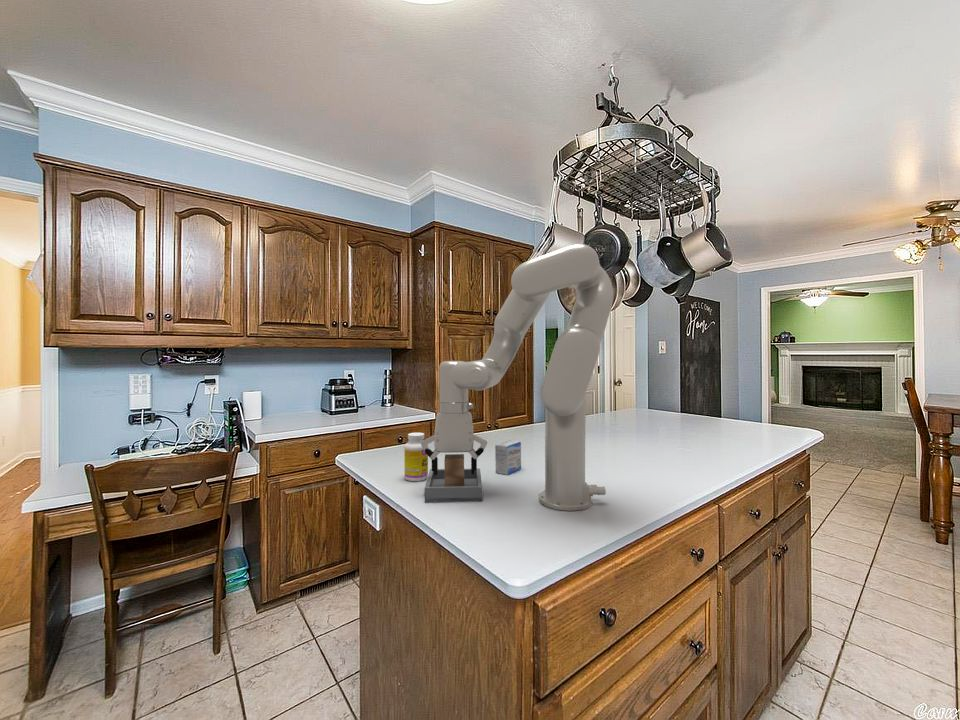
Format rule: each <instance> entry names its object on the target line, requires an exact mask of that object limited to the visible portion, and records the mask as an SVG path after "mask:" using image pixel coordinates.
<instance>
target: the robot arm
mask: <svg viewBox="0 0 960 720" xmlns="http://www.w3.org/2000/svg"><path fill="white" fill-rule="evenodd" d="M599 257H600V256H599V254H598V253H597V251H596V250H595V249H594V248H593V247H591V246H590V245H588V244H584V243H575V244H571V245H568V246H564V247H561V248H558V249H556V250H554V251H550V252H548V253H546V254H543V255H539V256H538V257H534V258H532V259H529V260H527V261H525V262H523V263H520V264H519V265H518V266H517V267H516V268H515V269H514V271H513V273H512V274H511V278H510V279H511V280H510V282H511V283H510V284H511V287H512V289H511V291H510V293H509V294H508V296H507V298H506V299H505V301H504V302H503V304H502V306H501V308H500V309H499V311H498V313H496V314H497V315H496V316H495V319H494V325H493V327H494V328H493V329H494V333H493V337H492V340H491V342H490V344H489V346H488V348H487V350H486V351H485V353H484V355H483V357H482V359H480V360H479V359H478V360H471V361H463V360H444V361H442V362H441V363H440V364H439V366H438V367H439V368H438V376H439V377H438V379H439V380H438V381H439V383H438V385H439V386H438V387H439V394H438V395H439V396H438V397H439V402H438V403H439V404H438V405H439V411H438V412H437V413H436V416H435V422H434V423H435V424H434V425H435V426H434V434H433V435H431V436H429V437H427V438H426V439H425V438H424V440H423V441H422V442H421V446H422V448H423V450H424V451H425V453H426V454H427V455H428V457H429V458H430V460H431V469H432V471H434V475H437V472H438V469H439V468H438V467H439V465H438V461H439V458H438V455H439V454H440V453H445V454H446V453H449V454H450V453H468V454H469V455H470V461H471V462H470V463H471V464H470V466H471V467H470V469H471V474H472V475H474V470H477V468H478V464H477V463H478V459H479V457H480V456H481V455H482V454H483V453H484V451H485V449H486V448H487V445H488V441H487V440H486V439H484V438H482V437H480V436H478V435H476V434H475V433H474V422H473V421H474V420H473V416H472V412H470V410H471V409H473V410H474V409H475V408H474V407H475V404H474V403H472V402H469V390H473V391H484V390H487V389H490V388H492V387H495V386H496V385H498V384H499V383H500V381H501V380H502V378H503V377H504V376H505V374H506V372H507V370H508V369H509V367H510V366H511V364H512V362H513V360H514V358H515V357H516V355H517V353H518V350H519V348H520V347H521V344H522V343H523V340H524V338H525V336H526V334H527V332H528V331H529V329H530V327H531V326H532V324H533V322H534V321H535V319H536V318H537V315H538V314H539V312H540V311H541V309H542V308H543V306H544V304H545V302H546V301H547V299H548V298H549V296H550V294H551V293H552V292H555V291H559V290H561V289H564V288H568V287H570V286H571V288H573V290H575V293H576V297H575V302H574V305H573V307H572V309H571V315H570V317H569V319H568V324H567V326H566V328H565V330H563V331H562V332H561V333H560V334H559V336H558V337H557V339H556V341H555V344H554V346H553V349H552V353H551V355H550V359H549V361H548V363H547V364H548V365H547V368H546V371H545V373H544V374H545V375H544V377H543V381H542V383H541V386H540V393H539V394H540V395H539V397H540V401H541V404H542V405H543V407H544V408H545V423H544V425H545V426H544V428H545V429H544V433H545V434H544V458H545V459H544V463H545V464H544V490H542V491H541V492H540V493H539V494H538V502H540V504H542V506H545V507H548V508H550V509H553V510H557V511H581V510H585V509H587V508H589V507H591V506H592V503H593V498H592V497H593V495H594V496H596V495H597V496H605V495H606V494H607V493H606V492H607V490H606V487H605V486H598V485H597V484H588V483H587V482H586V414H587V413H586V410H587V404H586V403H587V391H588V387H589V385H590V381H591V379H592V377H593V374H594V373H593V372H594V370H595V367H596V364H597V361H598V358H599V355H600V351H601V343H602V340H603V336H604V333H605V330H606V328H607V324H608V320H609V318H610V314H611V310H612V306H613V303H614V288H613V287H614V286H613V285H612V284H613V283H612V281H611V279H610V276H609V274H608V273H607V271H606V270H605V269H604V268H603V267H602V266H601V264H600V259H599ZM474 441H475V442H476V443H479V444H480V446H479V447H478V448H477V450H475V449H474ZM432 442H434V450H433V451H432V450H431V448H430V447H429V446H428V445H429V444H430V443H432Z"/></svg>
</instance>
